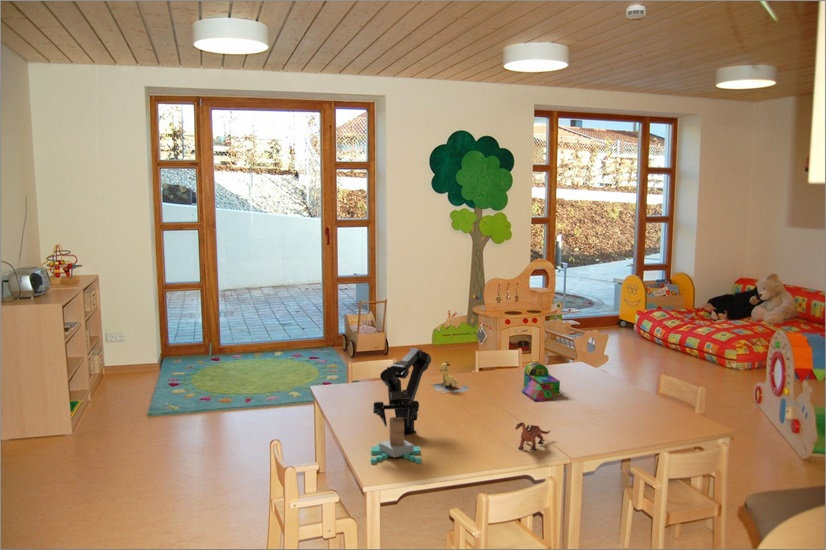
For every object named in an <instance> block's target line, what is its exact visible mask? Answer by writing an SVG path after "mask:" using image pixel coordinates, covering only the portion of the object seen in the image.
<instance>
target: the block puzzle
mask: <svg viewBox="0 0 826 550" xmlns="http://www.w3.org/2000/svg"><path fill="white" fill-rule="evenodd" d="M523 373H524V374H523V389H521V393H522V394H524V395H525V396H526V397H527V398H529V399H530V400H532V401H533V402H534V403H535V402H536V403H537V402H547V401H548V402H550V401H555V397H560V392H561V391H560V388H561V387H560V385H561V380H560V379H557V377H556V378H555V377H554V376H552V375H551V374H549V370H548V368H547V367H546V365H544V364H542V363H540V362H538V361H531V362H529V363H528V364H527V365H526V366H525V368H524V371H523Z"/></svg>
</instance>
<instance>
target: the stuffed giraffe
mask: <svg viewBox="0 0 826 550" xmlns="http://www.w3.org/2000/svg"><path fill="white" fill-rule="evenodd" d="M449 370H450V361H448V360H445V362H443V363H442V364H441V365H440V367H439V371H440V372H441V373H442V372H443V371H444V372H443V375H442V380H443V382H442V383H440V382H439V383H433V384H430V386H432V388H433V389H434V390H435V391H437V392H439V391H440V393H439V394H445V393H446V392H450V393H463V392H467V391H471V390H470V388H468V387H467V385H465V384H463V385H462V386H460V387H459V388H457V389H455V388H456V387H457V386H459V382H458V381H457V379H456V378H455V377H453V375H450V374H449ZM441 391H442V392H441Z"/></svg>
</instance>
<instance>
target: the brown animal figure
mask: <svg viewBox="0 0 826 550" xmlns="http://www.w3.org/2000/svg"><path fill="white" fill-rule="evenodd" d="M521 428H522V431H521V435H520V439H521V440H520V441H519V442H520V445H519V446H518V448H517V450H518V451H524V449H525V447H524V445H525V444H527V443H528V442H529V443H530V442H531V446H532V447H531V448H530V449H529V451H532V452H535V451H537V450H538V448H536V447H537V444H538V445H541V446H542V445H544V444H545V443H544V442H545V440H544V436H543V435H545V436H547V435H548V434H550V432H551V430H548V431H546V430H545V431H544V430H542V429H541V428H540V426H539V425H534V424H531V425H530V424H527V425H526V424H525V423H524V422H518V423H517V424H516V426H515V430H516V431H517V430H519V429H521ZM536 438H538V439H539V440H538V442H536Z"/></svg>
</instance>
